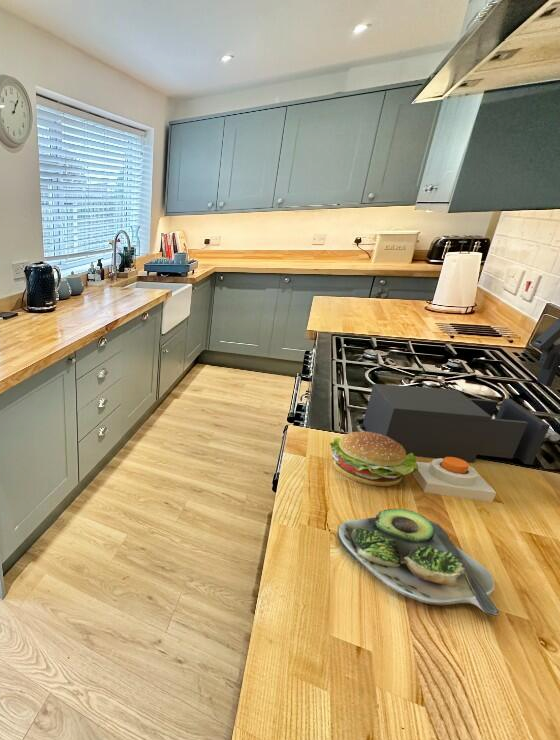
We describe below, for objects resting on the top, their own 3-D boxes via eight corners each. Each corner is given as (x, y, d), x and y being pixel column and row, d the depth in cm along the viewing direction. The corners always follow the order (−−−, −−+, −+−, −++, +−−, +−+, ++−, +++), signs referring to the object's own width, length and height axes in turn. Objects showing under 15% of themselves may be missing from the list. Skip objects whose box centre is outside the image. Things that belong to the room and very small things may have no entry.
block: (469, 477, 83) (476, 460, 81) (492, 502, 76) (500, 484, 75) (408, 469, 86) (413, 453, 85) (424, 492, 80) (430, 475, 78)
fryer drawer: (521, 436, 93) (536, 400, 90) (561, 468, 82) (580, 428, 79) (416, 426, 100) (427, 392, 97) (440, 454, 89) (453, 416, 86)
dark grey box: (442, 431, 99) (457, 389, 95) (473, 463, 87) (492, 416, 83) (362, 423, 105) (373, 383, 100) (381, 452, 93) (394, 408, 88)
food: (335, 486, 83) (344, 452, 80) (321, 450, 95) (328, 419, 92) (421, 499, 78) (434, 463, 75) (394, 459, 90) (404, 426, 87)
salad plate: (547, 616, 55) (562, 591, 54) (422, 633, 54) (433, 608, 53) (416, 519, 73) (423, 497, 72) (320, 530, 72) (325, 508, 70)
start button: (460, 465, 81) (463, 458, 80) (470, 476, 78) (473, 468, 77) (437, 463, 82) (440, 455, 81) (445, 473, 79) (448, 465, 78)
